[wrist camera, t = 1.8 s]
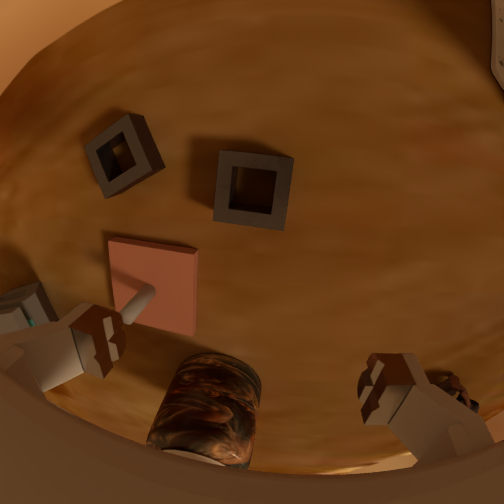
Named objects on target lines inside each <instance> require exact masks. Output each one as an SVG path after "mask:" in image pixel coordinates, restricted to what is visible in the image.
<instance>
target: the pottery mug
mask: <svg viewBox="0 0 504 504" xmlns="http://www.w3.org/2000/svg"><path fill="white" fill-rule="evenodd" d="M437 387H439V388H440V389H442V390H443V391H445V392H446V393H448V394H449V395H454V394H456V391H458V392H460V394H459V396H458V397H457V398H456V400H458V401H459V402H460V403H462V404H463V405H465V406H466V407H468V408H469V409H471V410H472V411H473V412H475V413H476V414H477V413H478V410H479V404H478V403H477V402H476V401H474V400H471V399H470V398H469V395H468V393H467V391H466V389H465V388H464V387H463V386H462V385H460V381H459V378H458V377H457V376H454V375H450V376H449V379H447V380H445V381H444V382H442V383H441V384H440V385H439V386H437Z"/></svg>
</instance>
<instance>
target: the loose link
mask: <svg viewBox="0 0 504 504" xmlns="http://www.w3.org/2000/svg"><path fill="white" fill-rule="evenodd" d="M125 140H126V141H127V143H128V146H129V148H130V150H131V153H132V155H133V157H134V160H135V162H136V164H137V165H135V166H134V167H132V168H130V169H129V170H127V171H126V172H124V173H123V174H122V171H121V169H120V167H119V164H118V162H117V159H116V157H115V155H114V152H113V150H112V149H113V148H115V147H116V146H118V145H119V144H121V143H122V142H123V141H125ZM84 148H85V151H86V153H87V156H88V159H89V161H90V164H91V166H92V169H93V171H94V174H95V176H96V179H97V181H98V183H99V186H100V188H101V190H102V193H103V195H104V197H105V199H107V198H110V197H113V196H116V195H119V194H121V193H123V192H125V191H126V190H128V189H129V188H131V187H133V186H134V185H136V184H138V183H140V182H141V181H143V180H145V179H146V178H148V177H150V176H152V175H153V174H155V173H157V172H159V171H160V170H162V169H164V168H166V167H165V165H164V163H163V160H162V158H161V156H160V154H159V151H158V149H157V147H156V144H155V142H154V140H153V137H152V135H151V133H150V130H149V128H148V126H147V123H146V121H145V119H144V116H141V115H134V114H127V115H125V116H124V117H122V118H121V119H120V120H118V121H117V122H115V123H114V124H113V125H111V126H110V127H109V128H107V129H106V130H105V131H103V132H102V133H101V134H99V135H98V136H97V137H95V138H94V139H93V140H92V141H90V142H89V143H88V144H87V145H85V146H84Z"/></svg>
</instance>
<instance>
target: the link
mask: <svg viewBox="0 0 504 504" xmlns="http://www.w3.org/2000/svg"><path fill="white" fill-rule="evenodd" d="M293 163H294V158H290V157H283V156H275V155H268V154H260V153H251V152H242V151H232V150H219V159H218V169H217V179H216V190H215V202H214V214H213V221H217V222H225V223H232V224H239V225H247V226H254V227H261V228H268V229H274V230H281V231H284V225H285V219H286V212H287V206H288V199H289V192H290V185H291V178H292V171H293ZM238 167H247V168H255V169H263V170H271V171H277V176H276V183H275V191H274V198H273V206H272V207H265V206H258V205H251V204H243V203H236V202H234V201H235V192H236V182H237V173H238Z"/></svg>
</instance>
